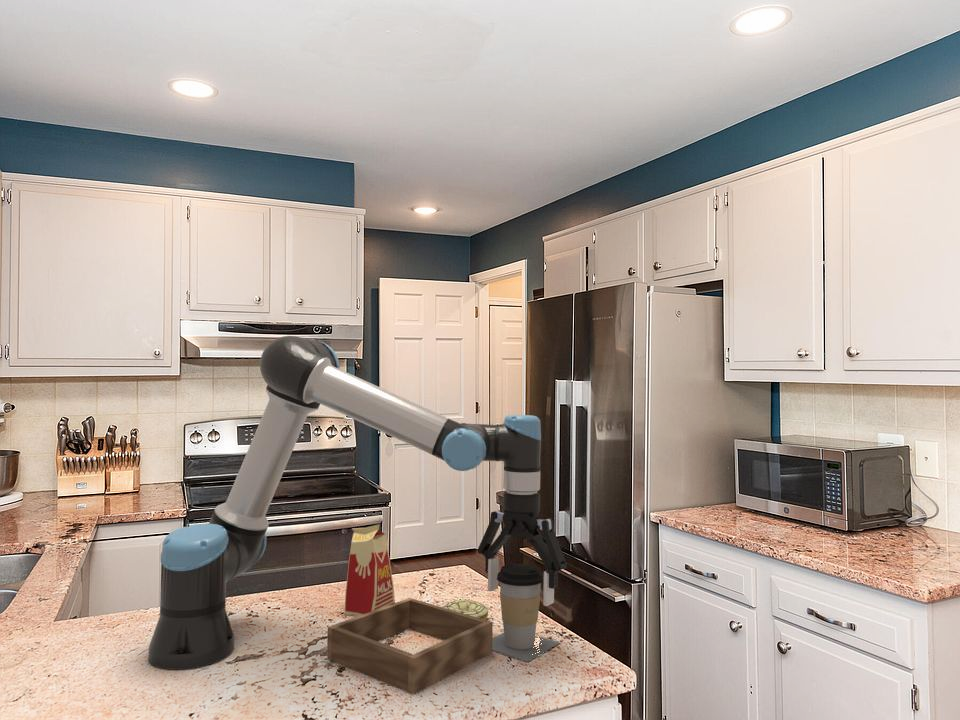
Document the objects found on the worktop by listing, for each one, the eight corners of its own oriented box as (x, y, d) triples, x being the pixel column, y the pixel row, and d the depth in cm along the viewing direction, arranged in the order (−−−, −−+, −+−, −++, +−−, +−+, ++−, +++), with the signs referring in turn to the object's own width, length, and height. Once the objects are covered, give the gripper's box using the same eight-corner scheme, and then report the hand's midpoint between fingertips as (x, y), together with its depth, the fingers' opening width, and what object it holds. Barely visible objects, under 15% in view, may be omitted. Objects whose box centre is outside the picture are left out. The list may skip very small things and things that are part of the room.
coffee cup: (539, 655, 130) (540, 577, 130) (491, 650, 132) (493, 573, 132) (544, 637, 139) (545, 564, 139) (500, 633, 141) (501, 561, 141)
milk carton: (395, 607, 156) (397, 521, 157) (373, 620, 148) (374, 529, 148) (362, 601, 160) (364, 517, 161) (339, 613, 152) (341, 524, 152)
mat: (527, 662, 127) (527, 661, 127) (477, 646, 134) (477, 645, 134) (560, 643, 136) (560, 642, 136) (512, 629, 144) (512, 628, 144)
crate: (413, 694, 113) (413, 658, 114) (326, 658, 127) (327, 627, 127) (492, 653, 131) (492, 622, 131) (409, 625, 145) (409, 597, 145)
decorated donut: (429, 621, 148) (429, 604, 148) (465, 610, 156) (465, 594, 156) (460, 635, 141) (461, 616, 141) (497, 622, 148) (497, 605, 148)
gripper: (585, 496, 132) (583, 605, 131) (484, 482, 147) (482, 580, 146) (565, 501, 126) (563, 615, 125) (462, 486, 141) (460, 588, 140)
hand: (519, 596), depth 136 cm, fingers open, 13 cm apart
